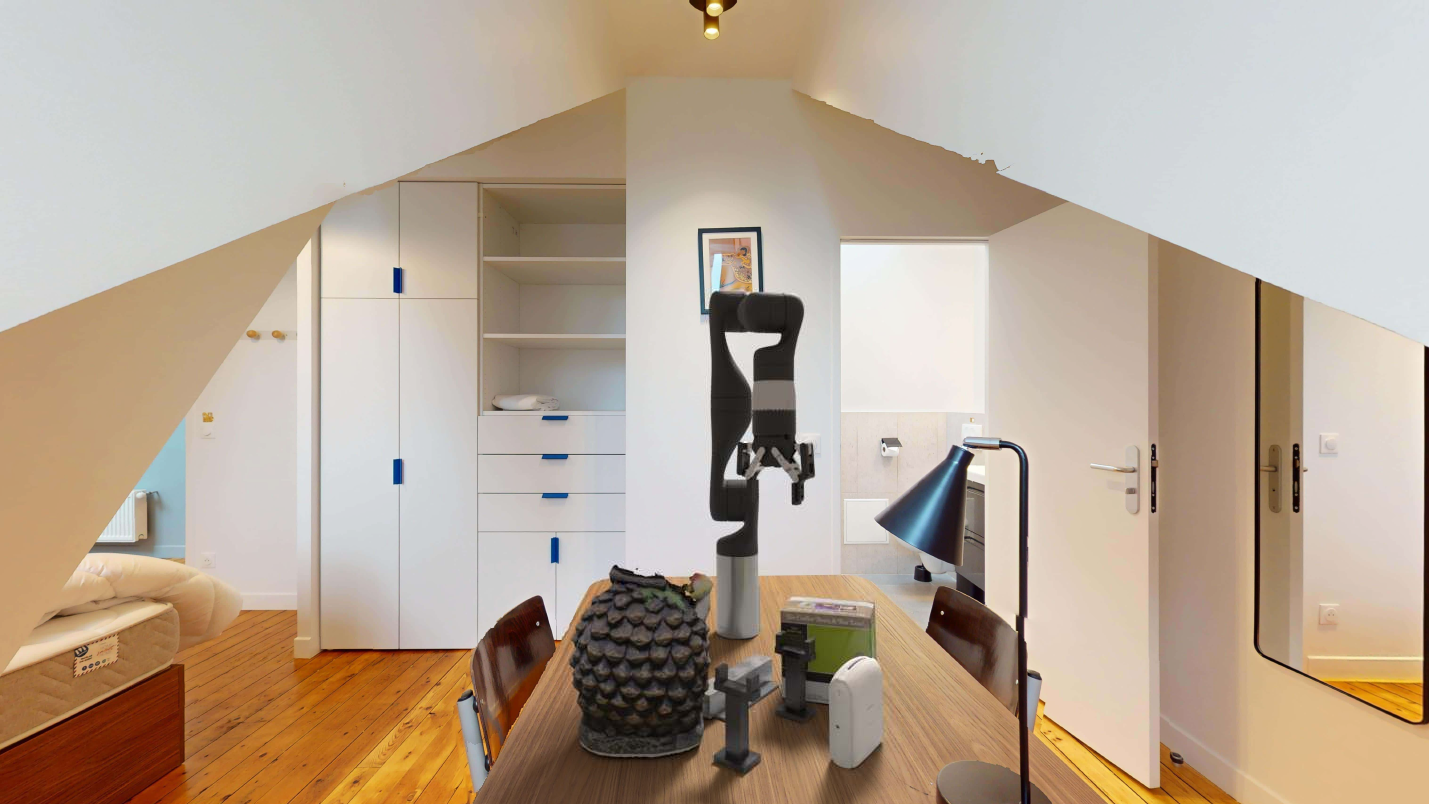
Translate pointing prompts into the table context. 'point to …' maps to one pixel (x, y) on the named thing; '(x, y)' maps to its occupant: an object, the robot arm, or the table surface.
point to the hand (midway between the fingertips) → (774, 502)
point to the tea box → (828, 637)
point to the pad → (765, 690)
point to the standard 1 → (737, 720)
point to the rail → (736, 673)
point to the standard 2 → (795, 678)
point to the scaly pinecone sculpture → (643, 665)
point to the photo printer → (855, 711)
